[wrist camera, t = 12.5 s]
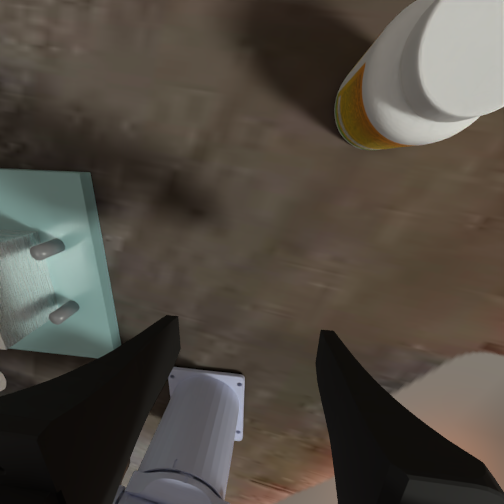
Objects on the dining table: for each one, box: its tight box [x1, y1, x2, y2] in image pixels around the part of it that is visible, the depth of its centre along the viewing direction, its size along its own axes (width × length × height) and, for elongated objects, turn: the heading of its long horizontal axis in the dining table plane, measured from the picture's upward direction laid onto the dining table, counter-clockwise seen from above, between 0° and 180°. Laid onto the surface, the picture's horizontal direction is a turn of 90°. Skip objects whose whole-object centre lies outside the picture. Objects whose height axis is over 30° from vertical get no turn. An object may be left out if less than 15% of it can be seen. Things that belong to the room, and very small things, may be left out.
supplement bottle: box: [334, 0, 504, 150], centre depth 12 cm, size 5×5×10 cm
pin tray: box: [0, 168, 121, 358], centre depth 22 cm, size 18×14×3 cm
